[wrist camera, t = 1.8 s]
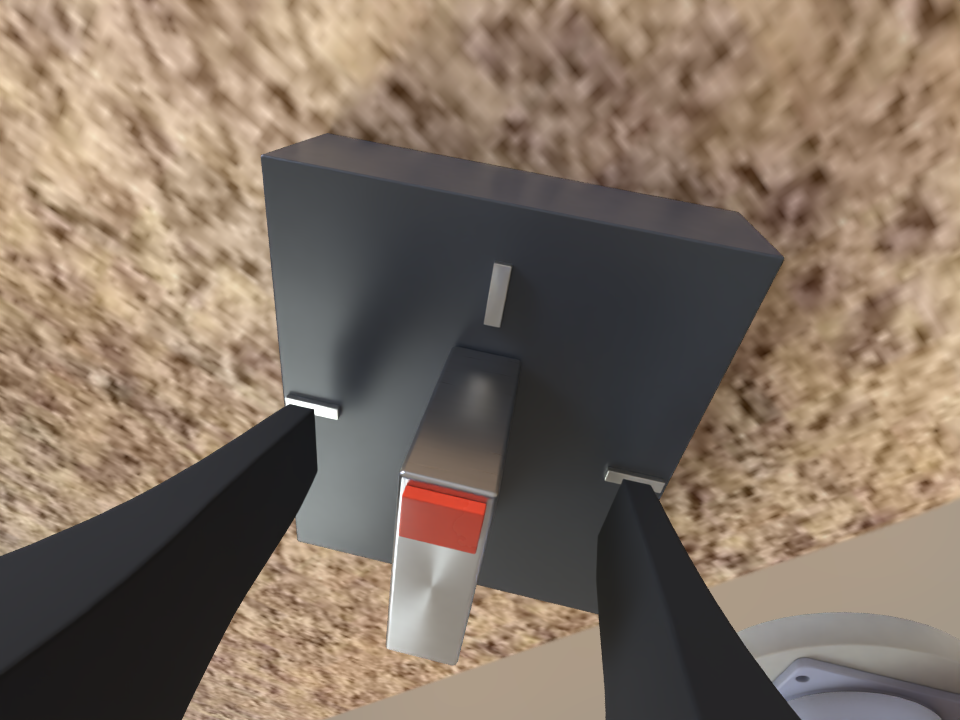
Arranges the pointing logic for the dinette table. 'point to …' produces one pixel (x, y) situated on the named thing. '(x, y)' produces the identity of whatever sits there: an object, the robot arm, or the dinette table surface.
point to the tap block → (499, 337)
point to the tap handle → (449, 503)
